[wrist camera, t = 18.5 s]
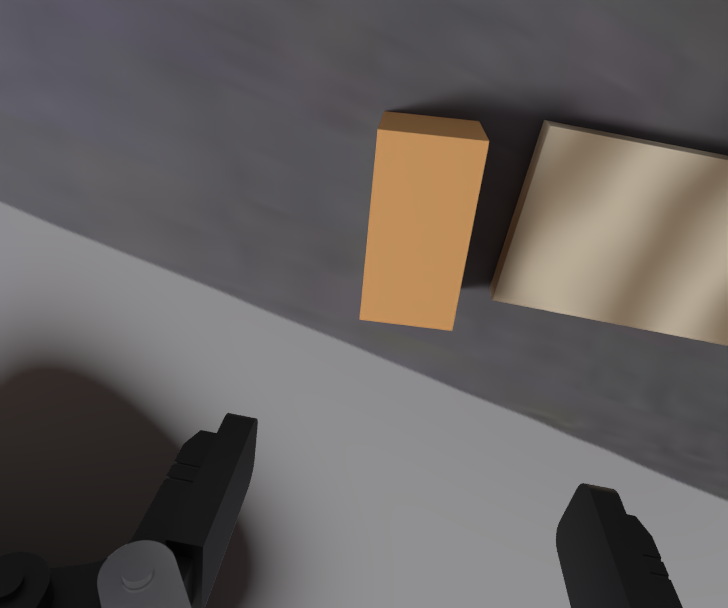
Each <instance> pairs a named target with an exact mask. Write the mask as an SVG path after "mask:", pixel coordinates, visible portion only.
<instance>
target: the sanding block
mask: <svg viewBox="0 0 728 608" xmlns="http://www.w3.org/2000/svg"><path fill="white" fill-rule="evenodd" d="M488 146H489V140H488V138H487V136H486V134H485V132H484V130H483V128H482V126H481V124H480V122H479V121H472V120H463V119H453V118H444V117H435V116H425V115H416V114H407V113H397V112H388V111H384V113H383V116H382V119H381V122H380V125H379V127H378V133H377V143H376V154H375V164H374V175H373V185H372V196H371V206H370V216H369V227H368V237H367V248H366V258H365V269H364V279H363V290H362V300H361V311H360V320H368V321H376V322H384V323H393V324H401V325H409V326H417V327H425V328H434V329H442V330H450V331H452V329H453V323H454V318H455V313H456V308H457V303H458V298H459V293H460V288H461V283H462V278H463V273H464V268H465V263H466V258H467V252H468V247H469V242H470V237H471V232H472V227H473V222H474V217H475V212H476V207H477V202H478V197H479V192H480V187H481V181H482V176H483V171H484V166H485V161H486V156H487V151H488Z"/></svg>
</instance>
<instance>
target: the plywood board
mask: <svg viewBox="0 0 728 608" xmlns="http://www.w3.org/2000/svg"><path fill="white" fill-rule="evenodd" d="M490 292H491V297H492V300H495V301H500V302H505V303H510V304H516V305H521V306H526V307H531V308H536V309H541V310H547V311H552V312H557V313H562V314H567V315H572V316H577V317H583V318H588V319H593V320H598V321H603V322H608V323H614V324H619V325H624V326H629V327H634V328H639V329H644V330H650V331H655V332H660V333H665V334H670V335H675V336H681V337H686V338H691V339H696V340H701V341H706V342H711V343H717V344H722V345H727V346H728V156H727V155H722V154H716V153H711V152H706V151H701V150H696V149H691V148H686V147H680V146H675V145H670V144H665V143H660V142H655V141H650V140H644V139H639V138H634V137H629V136H624V135H619V134H614V133H608V132H603V131H598V130H593V129H588V128H583V127H578V126H572V125H567V124H562V123H557V122H552V121H547V120H544V122H543V125H542V128H541V131H540V134H539V137H538V140H537V143H536V146H535V149H534V152H533V156H532V159H531V162H530V165H529V168H528V171H527V174H526V177H525V180H524V183H523V186H522V189H521V193H520V196H519V199H518V202H517V205H516V208H515V211H514V214H513V217H512V220H511V223H510V226H509V230H508V233H507V236H506V239H505V242H504V245H503V248H502V251H501V254H500V257H499V260H498V263H497V267H496V270H495V273H494V276H493V279H492V282H491V285H490Z"/></svg>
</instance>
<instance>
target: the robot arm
mask: <svg viewBox="0 0 728 608" xmlns="http://www.w3.org/2000/svg"><path fill="white" fill-rule="evenodd" d="M257 424H258V421H257V419H256V418H251V417H246V416H241V415H236V414H231V413H227V414H226V416H225V417H224V420H223V422H222V424H221V426H220V428H219V430H218V432H217V433H213V432H207V431H202V430H201V431H199V432H198V433H197V434H195V435H194V436H193V437H192V438H191V439H189V440H188V441H187V442H186V443H185V444H184V445H183V446H182V448H181V450H180V452H179V454H178V455H177V458H176V459H175V461H174V464H173V465H172V466H171V469H170V470H169V472H168V474H167V476H166V479H165V480H164V481H163V483H162V485H161V487H160V489H159V491H158V492H157V494H156V496H155V498H154V500H153V501H152V503H151V505H150V507H149V509H148V510H147V512H146V514H145V516H144V518H143V520H142V521H141V523H140V525H139V527H138V529H137V531H136V532H135V534H134V536H133V537H132V539H131V540H130V541H129V542H128V543H127V544H126V545H124V546H123V547H121V548H119V549H117V550H116V551H115V552H114V553H112V554H111V555H110V556H109V557H108V558H106V559H103V560H101V561H97V562H94V563H89V564H83V565H74V566H66V567H57V568H49V566H48V565H47V563H46V562H45V560H44V559H43V558H41V557H40V556H38V555H36V554H33V553H28V552H17V553H10V554H6V555H3V556H0V608H205V605H206V603H207V600H208V597H209V594H210V592H211V589H212V586H213V584H214V581H215V578H216V575H217V573H218V570H219V567H220V564H221V562H222V559H223V556H224V553H225V551H226V548H227V545H228V542H229V539H230V537H231V534H232V531H233V529H234V526H235V523H236V520H237V517H238V515H239V512H240V509H241V506H242V503H243V501H244V498H245V495H246V493H247V490H248V487H249V484H250V480H251V476H252V472H253V467H254V459H255V448H256V437H257ZM556 547H557V552H558V556H559V560H560V564H561V569H562V573H563V577H564V580H565V585H566V589H567V593H568V597H569V601H570V605H571V608H683V607H682V605H681V603H680V600H679V598H678V596H677V593H676V591H675V589H674V586H673V584H672V582H671V580H669V579H668V576H669V575H668V573H667V571H666V568H665V566H664V563H663V562H661V556H660V554H659V552H658V549H657V547H656V545H655V542H654V540H653V538H652V536H651V535H650V533H649V532H648V531H647V530H646V528H645V527H644V526H643V525H642V524H641V522H640V521H639V520H638V519H637V517H636V516H632V515H628V514H626V512H625V509H624V506H623V504H622V501H621V499H620V497H619V494H618V493H617V491H615V490H614V489H610V488H605V487H600V486H595V485H589V484H584V483H583V484H580V485H579V486H578V488H577V490H576V491H575V493H574V495H573V497H572V499H571V501H570V503H569V505H568V507H567V508H566V511H565V512H564V514H563V516H562V518H561V520H560V522H559V524H558V527H557V533H556Z"/></svg>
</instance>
